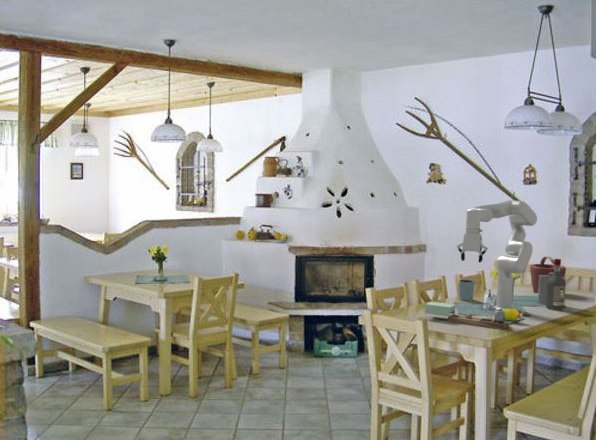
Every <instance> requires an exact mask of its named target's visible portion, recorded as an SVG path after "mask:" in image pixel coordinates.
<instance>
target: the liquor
mask: <svg viewBox="0 0 597 440" xmlns="http://www.w3.org/2000/svg"><path fill="white" fill-rule="evenodd" d="M554 260H555V261H554V264H555V266H554V275H553V276H552V277H551V278H550V279H549V280H548V282H547V302H546V305H545V307H546V309H547V308H548V310H551V309H553V310H552V311H563V310H562V309H564V310H565V307H566V306H565V304H566V303H565V302H566V288H567V287H566V284H567V283H566V279H565V280H564V279H563V278H562V277H561V274H560V266H562V263H561V262H562V259H561V258H554ZM554 264H553V265H554Z"/></svg>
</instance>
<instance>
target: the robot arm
mask: <svg viewBox="0 0 597 440" xmlns="http://www.w3.org/2000/svg"><path fill="white" fill-rule="evenodd" d="M505 217H508V221H509V224H510V228H511V233H510V235H509V239H508V240H507V242H506V245H505V249H504V252H505V253H506V254H507V255H500V256H499V257H498V258H497V260H496V265H495V266H496V270H497V283H496V284H497V286H496V304H495V306H494V305H493V309H494V310H495V309H496V308H505V307H512V308H514V309H516V306H514V295H515V294H514V291H515V289H514V288H515V278H514V275H513V274H519V275H522V274H524V272H525V271H526V269H527V267H528V265H529V262H530V260H531V258H532V255H533V245H532V243H531V242H529V241H527V240H526V241H525V239H526V235H527V233H526V230H525V228H524V226H526V227H528V226H529V227H533V226H535V225H536V224H537V222H538V216H537V214H536V212H535V211H534V210H533V209H532V207H531V206H530V205H529V204H527V202H525V201H524V200H506V201H505V200H504V201H501V202H498V203H491V204H484V205H479V206H475V207H472V208H468V209H467V210H466V220H465V221H466V223H465V224H466V225H465V232H464V236H463V240H462V243H460V244H458V245H456V248H457V250H458V251H459V253H460V254H461V255H460V259H461V261H462V262H464V261H465V260H466V259H465V258H466V253H465V252H474V253H475V252H478V254H479V255H478V263H482V261H483V256H484V254H486V253H487V251H488V249H489V248H488V246H486V245H484V244H483V237H482V233H483V229H481V223H489V222H491V221H492V219H501V218H505ZM461 247H462V248H461Z"/></svg>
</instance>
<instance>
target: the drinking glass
mask: <svg viewBox="0 0 597 440" xmlns="http://www.w3.org/2000/svg"><path fill="white" fill-rule="evenodd" d="M475 284H476V282H475V280H472V279H459V280H458V300H459V301H465V302H470V301H471V302H472V301H474V290H475Z"/></svg>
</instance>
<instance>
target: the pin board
mask: <svg viewBox="0 0 597 440" xmlns="http://www.w3.org/2000/svg"><path fill="white" fill-rule="evenodd" d="M447 322H448V323H457V324H463V325H468V326H469V325H471V326H477V327H485V328H492V329H500V330H505V329H507V328H508V327H509V325H510V324H509V321H504V320H503V324H502V323H495V318H494V319H493V318H492V319H491V318H485V317H476V316H472V314H471V313H466V314H465V315H464V314H457V313H455V314H450V317H449V316H447Z"/></svg>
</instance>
